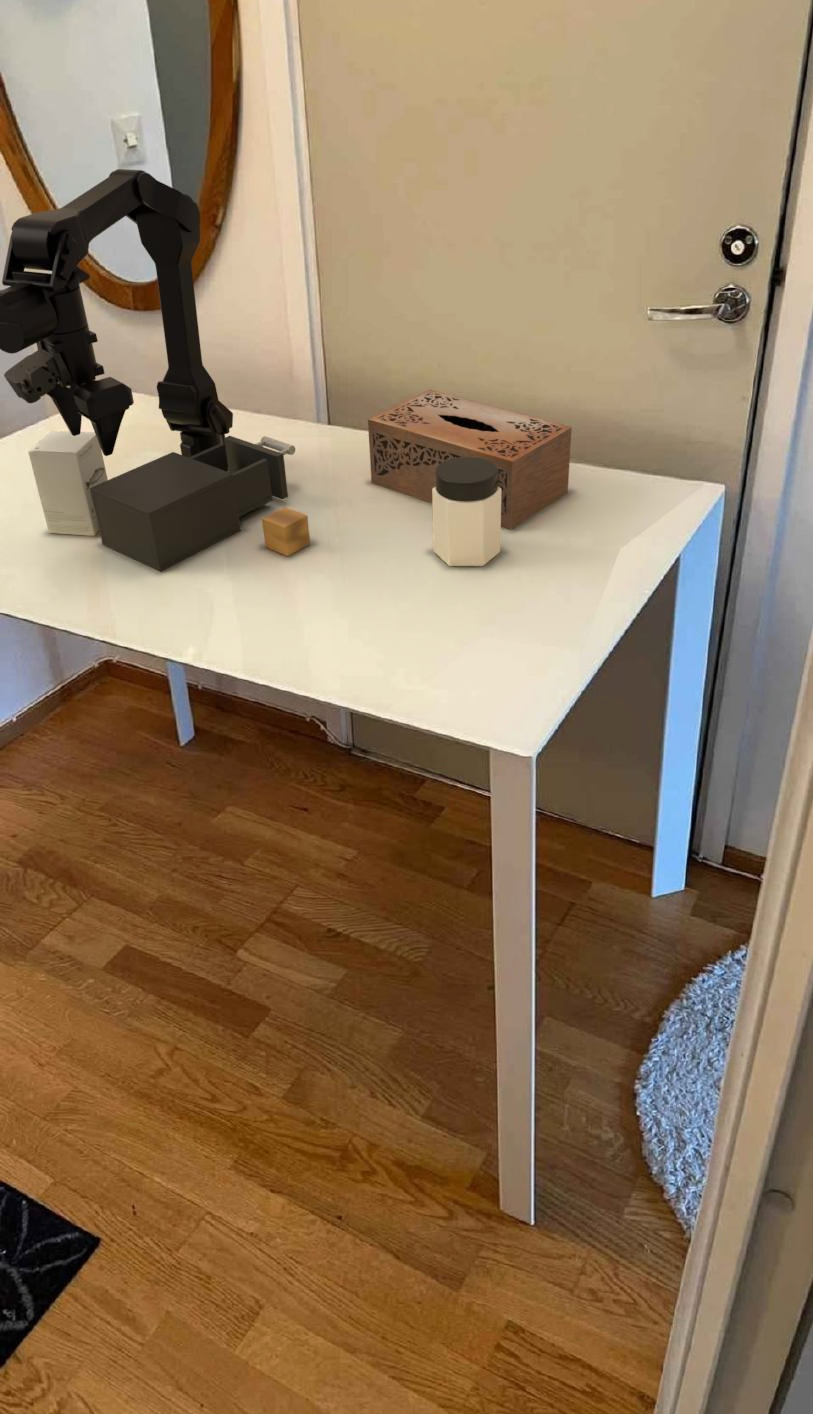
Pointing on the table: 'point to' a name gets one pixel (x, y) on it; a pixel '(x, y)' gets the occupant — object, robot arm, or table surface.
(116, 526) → the brown drawer box
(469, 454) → the tissue box cover
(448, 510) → the jar
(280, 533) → the block
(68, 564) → the table surface
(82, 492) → the white packaging box
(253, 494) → the dark brown drawer
